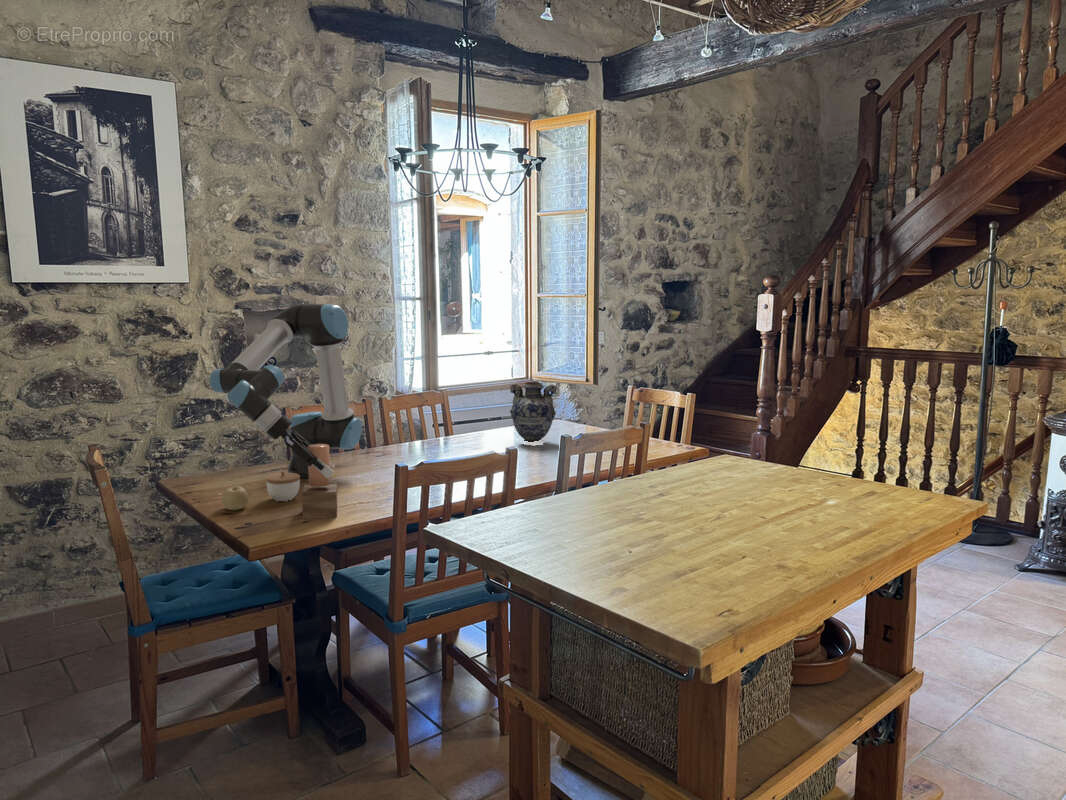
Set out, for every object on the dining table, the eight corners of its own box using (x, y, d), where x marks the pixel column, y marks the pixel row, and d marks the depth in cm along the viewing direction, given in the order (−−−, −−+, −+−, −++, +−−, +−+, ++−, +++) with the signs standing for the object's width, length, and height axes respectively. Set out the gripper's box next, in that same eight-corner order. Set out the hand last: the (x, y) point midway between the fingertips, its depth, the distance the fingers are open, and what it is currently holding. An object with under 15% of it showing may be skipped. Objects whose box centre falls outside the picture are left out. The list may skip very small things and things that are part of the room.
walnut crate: (304, 509, 238) (304, 485, 237) (337, 507, 240) (336, 483, 239) (302, 519, 229) (302, 493, 227) (336, 517, 231) (336, 491, 230)
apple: (249, 502, 245) (253, 485, 241) (241, 519, 238) (246, 501, 234) (224, 496, 243) (228, 478, 239) (216, 512, 236) (220, 494, 232)
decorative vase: (505, 446, 334) (506, 384, 330) (513, 439, 352) (514, 380, 349) (552, 449, 331) (554, 386, 327) (558, 441, 349) (559, 381, 345)
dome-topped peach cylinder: (309, 481, 235) (308, 444, 234) (330, 480, 237) (329, 443, 235) (308, 487, 229) (306, 448, 228) (330, 486, 231) (328, 447, 229)
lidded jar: (290, 504, 244) (289, 476, 242) (260, 502, 246) (259, 474, 244) (306, 495, 254) (305, 468, 253) (277, 493, 256) (276, 467, 255)
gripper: (268, 425, 236) (323, 473, 243) (261, 437, 218) (321, 489, 224) (285, 408, 237) (340, 457, 243) (279, 419, 218) (339, 471, 224)
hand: (331, 472), depth 233 cm, fingers closed on dome-topped peach cylinder, 6 cm apart
